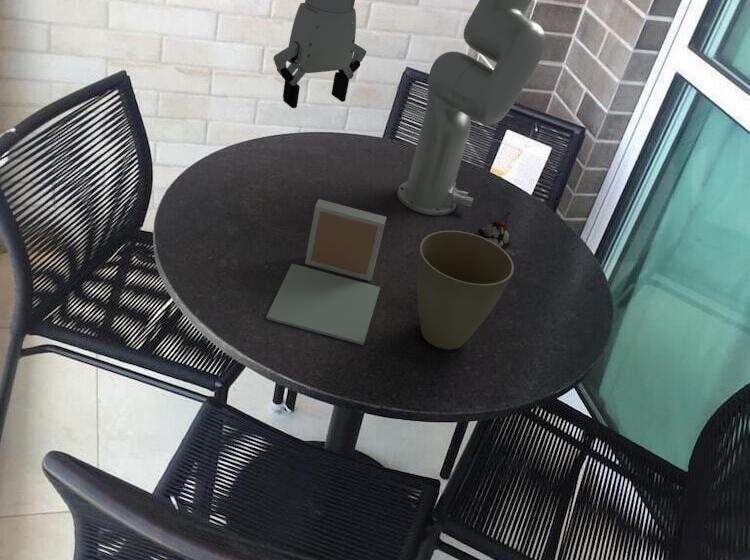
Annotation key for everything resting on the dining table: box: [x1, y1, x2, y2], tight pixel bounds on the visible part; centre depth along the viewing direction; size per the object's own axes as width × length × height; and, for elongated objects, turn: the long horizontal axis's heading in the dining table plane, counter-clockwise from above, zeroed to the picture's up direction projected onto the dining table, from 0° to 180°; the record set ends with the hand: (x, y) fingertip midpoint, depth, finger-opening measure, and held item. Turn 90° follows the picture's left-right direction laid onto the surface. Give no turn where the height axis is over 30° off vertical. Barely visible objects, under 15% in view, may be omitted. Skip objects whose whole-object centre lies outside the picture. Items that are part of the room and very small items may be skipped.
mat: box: [265, 263, 381, 346], centre depth 135 cm, size 16×16×1 cm
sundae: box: [474, 212, 513, 251], centre depth 145 cm, size 7×7×15 cm
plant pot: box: [416, 230, 515, 350], centre depth 130 cm, size 15×15×16 cm
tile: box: [304, 198, 387, 282], centre depth 141 cm, size 12×3×12 cm, turn 81°
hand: (314, 101), depth 134 cm, fingers open, 9 cm apart
